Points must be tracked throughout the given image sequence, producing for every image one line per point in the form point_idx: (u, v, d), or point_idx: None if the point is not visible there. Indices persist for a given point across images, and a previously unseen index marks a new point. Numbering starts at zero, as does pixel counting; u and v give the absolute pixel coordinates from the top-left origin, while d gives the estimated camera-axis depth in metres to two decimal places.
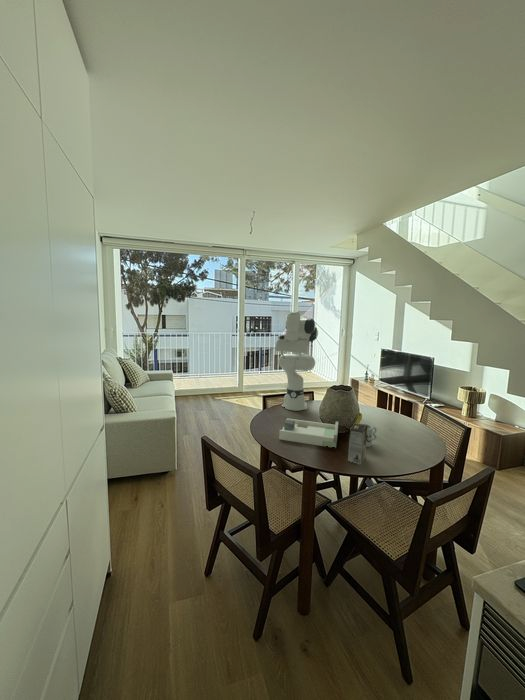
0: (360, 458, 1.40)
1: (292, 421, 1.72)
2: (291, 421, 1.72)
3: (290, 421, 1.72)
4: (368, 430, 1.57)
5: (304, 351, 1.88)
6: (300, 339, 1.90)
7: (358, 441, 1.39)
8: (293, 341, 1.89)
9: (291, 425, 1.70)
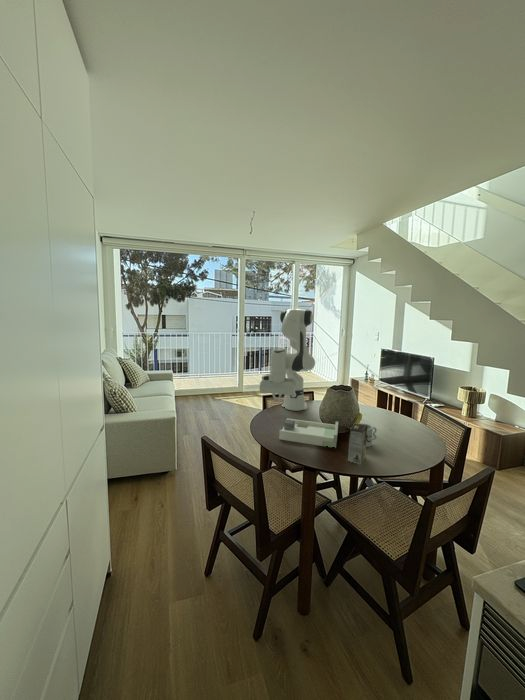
0: (360, 458, 1.40)
1: (292, 421, 1.72)
2: (291, 421, 1.72)
3: (290, 421, 1.72)
4: (368, 430, 1.57)
5: (291, 393, 1.68)
6: (286, 380, 1.70)
7: (358, 441, 1.39)
8: (278, 382, 1.69)
9: (291, 425, 1.70)
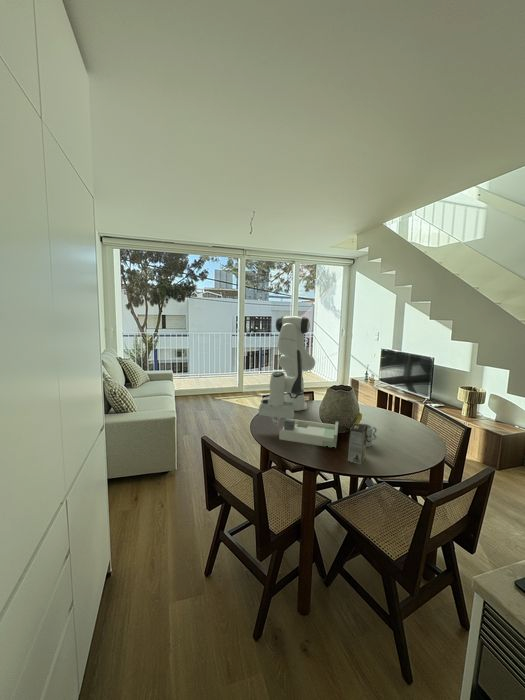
0: (360, 458, 1.40)
1: (292, 421, 1.72)
2: (291, 421, 1.72)
3: (290, 421, 1.72)
4: (368, 430, 1.57)
5: (290, 417, 1.70)
6: (285, 403, 1.71)
7: (358, 441, 1.39)
8: (277, 406, 1.70)
9: (291, 425, 1.70)
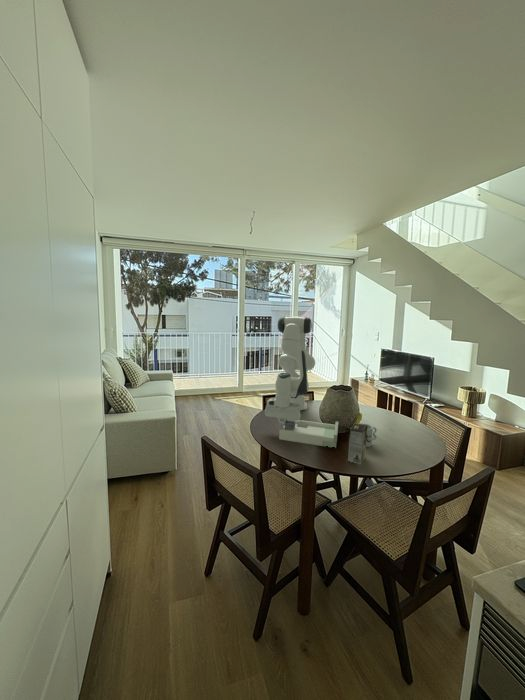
0: (360, 458, 1.40)
1: (292, 421, 1.72)
2: (292, 421, 1.72)
3: (290, 421, 1.72)
4: (368, 430, 1.57)
5: (296, 418, 1.69)
6: (292, 404, 1.70)
7: (358, 441, 1.39)
8: (284, 407, 1.69)
9: (291, 425, 1.70)
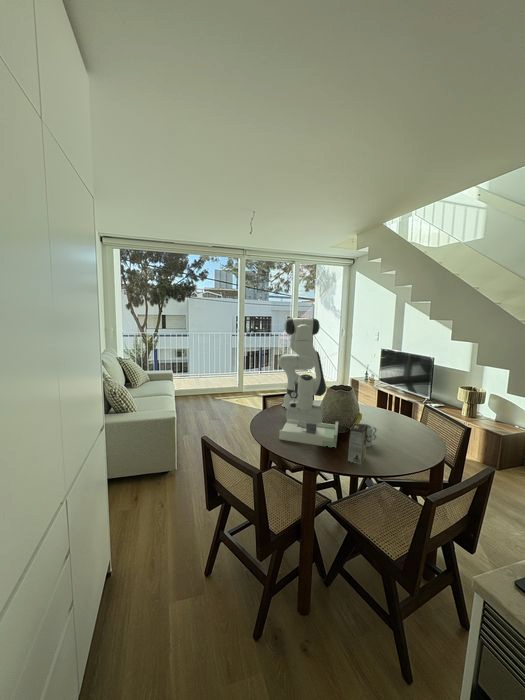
0: (360, 458, 1.40)
1: (314, 424, 1.69)
2: (314, 424, 1.68)
3: (312, 424, 1.69)
4: (368, 430, 1.57)
5: (319, 421, 1.65)
6: (314, 407, 1.67)
7: (358, 441, 1.39)
8: (306, 410, 1.66)
9: (313, 428, 1.66)
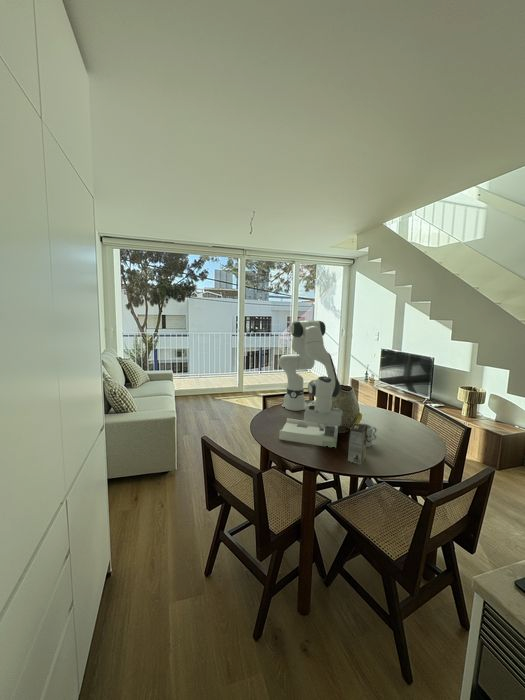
0: (360, 458, 1.40)
1: (332, 427, 1.66)
2: (332, 427, 1.66)
3: (330, 427, 1.66)
4: (368, 430, 1.57)
5: (338, 424, 1.63)
6: (333, 409, 1.64)
7: (358, 441, 1.39)
8: (325, 412, 1.63)
9: (332, 431, 1.63)
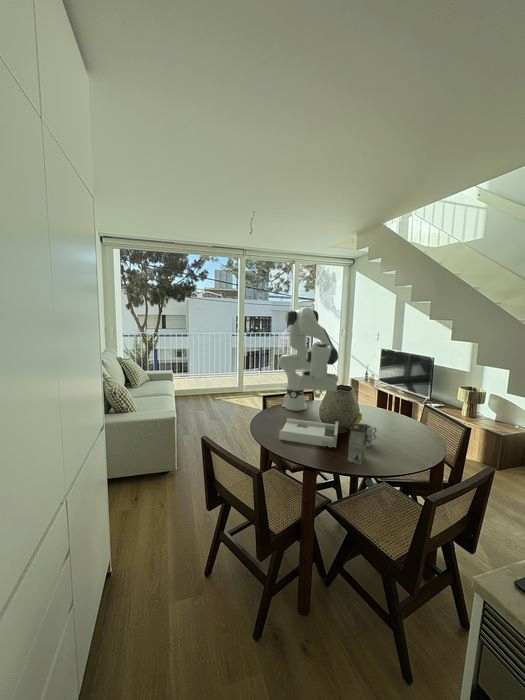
0: (360, 458, 1.40)
1: (332, 427, 1.66)
2: (332, 427, 1.66)
3: (330, 427, 1.66)
4: (368, 430, 1.57)
5: (333, 389, 1.62)
6: (328, 375, 1.63)
7: (358, 441, 1.39)
8: (320, 378, 1.62)
9: (332, 431, 1.63)
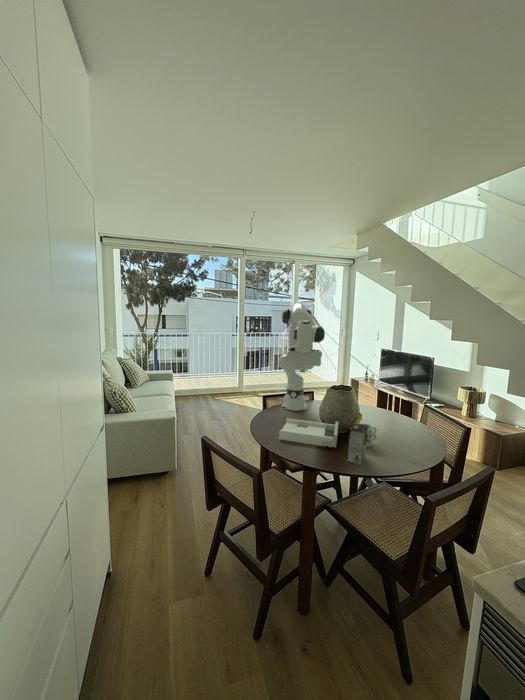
0: (360, 458, 1.40)
1: (332, 427, 1.66)
2: (332, 427, 1.66)
3: (330, 427, 1.66)
4: (368, 430, 1.57)
5: (317, 364, 1.71)
6: (313, 351, 1.73)
7: (358, 441, 1.39)
8: (305, 353, 1.72)
9: (332, 431, 1.63)
